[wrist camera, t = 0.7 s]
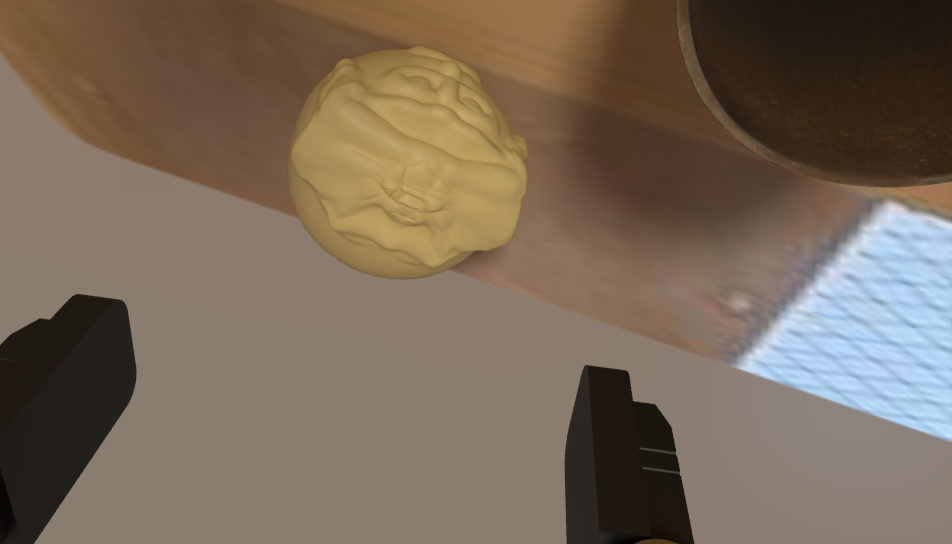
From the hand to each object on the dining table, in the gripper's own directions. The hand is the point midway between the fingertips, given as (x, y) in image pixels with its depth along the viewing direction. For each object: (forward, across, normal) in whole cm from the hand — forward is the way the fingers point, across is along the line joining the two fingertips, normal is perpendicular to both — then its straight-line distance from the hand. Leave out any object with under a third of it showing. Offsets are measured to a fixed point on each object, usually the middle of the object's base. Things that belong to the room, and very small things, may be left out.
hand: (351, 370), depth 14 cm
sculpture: (+31, +3, +7) cm, 32 cm away
